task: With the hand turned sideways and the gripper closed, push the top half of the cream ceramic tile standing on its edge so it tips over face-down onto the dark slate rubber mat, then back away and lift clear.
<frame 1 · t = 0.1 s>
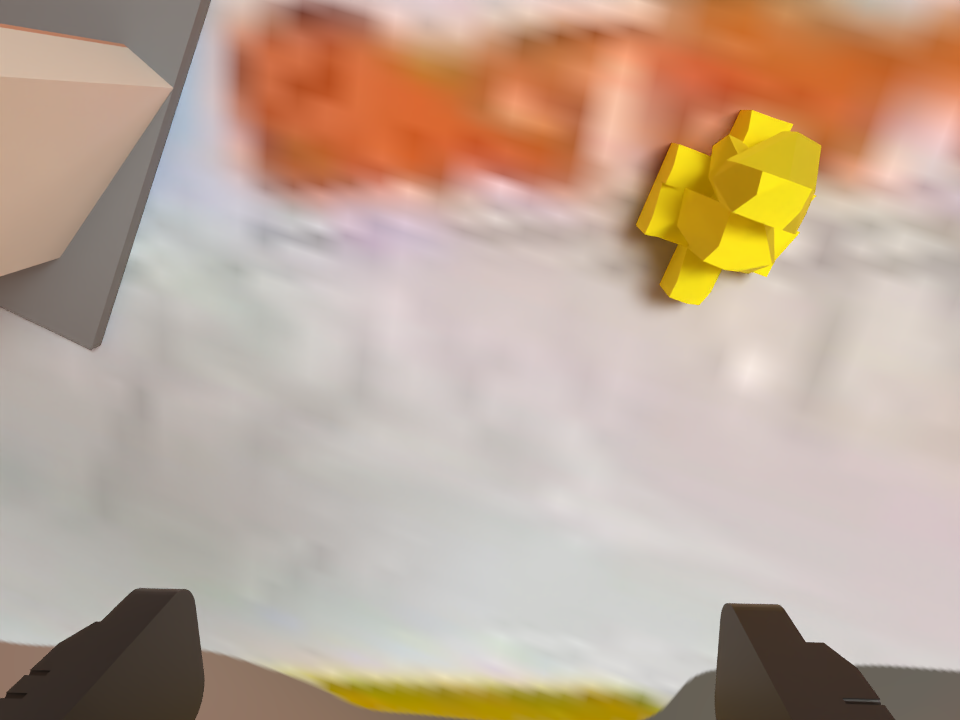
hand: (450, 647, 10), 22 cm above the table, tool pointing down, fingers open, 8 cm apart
tile: (89, 157, 29), point 1 cm above the table, touching mat
crumpled paper: (712, 206, 29), on the table
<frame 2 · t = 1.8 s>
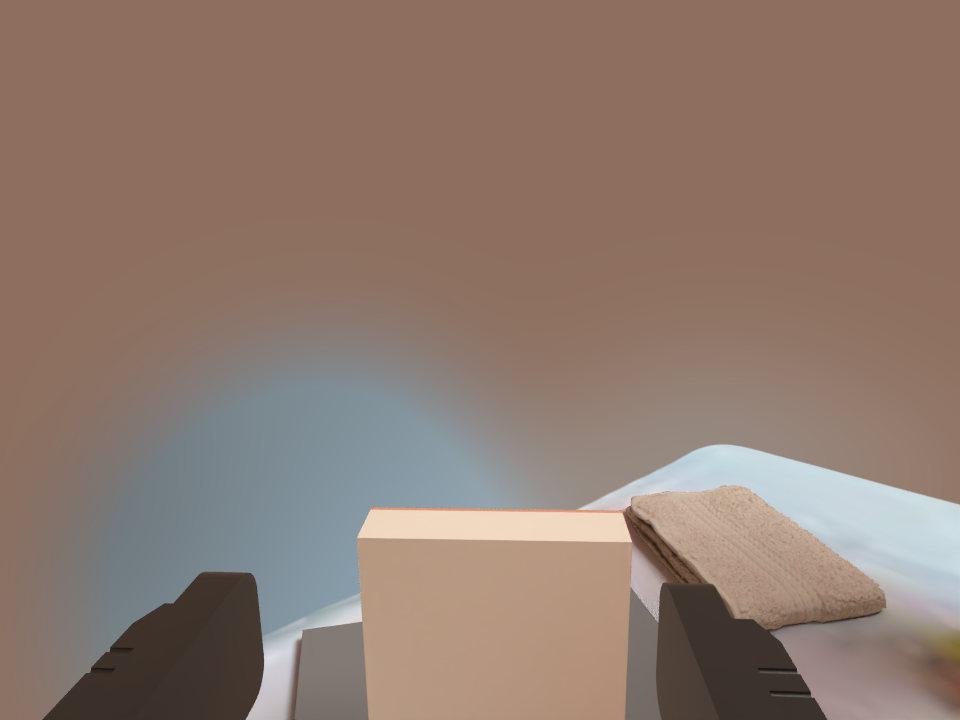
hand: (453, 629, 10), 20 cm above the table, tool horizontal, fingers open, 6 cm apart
mat: (506, 718, 35), on the table
washcloth: (734, 565, 51), on the table
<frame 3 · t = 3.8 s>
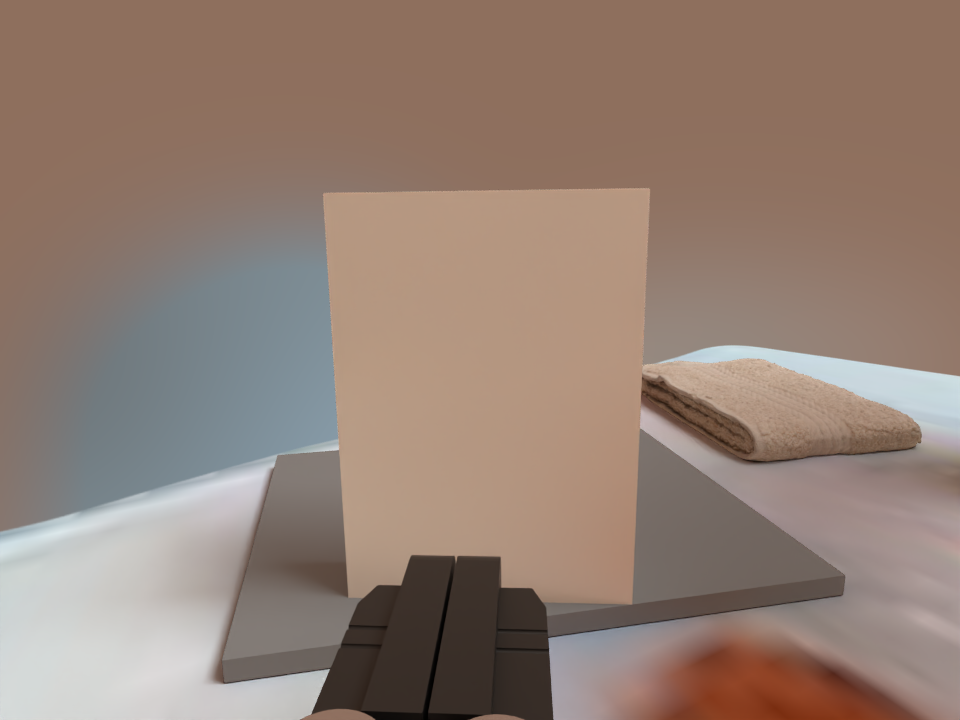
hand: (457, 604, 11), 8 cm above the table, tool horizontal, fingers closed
mat: (501, 518, 31), on the table
tile: (490, 581, 24), point 1 cm above the table, touching mat
washcloth: (752, 422, 47), on the table
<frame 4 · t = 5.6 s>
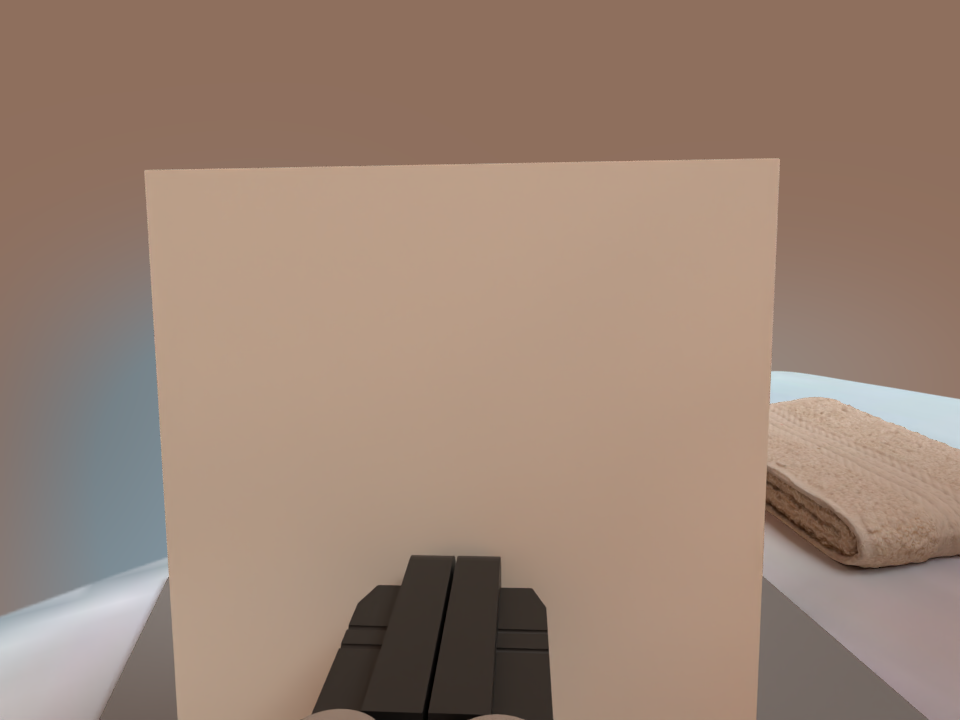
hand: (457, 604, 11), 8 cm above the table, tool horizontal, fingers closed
mat: (493, 695, 20), on the table
washcloth: (831, 490, 36), on the table
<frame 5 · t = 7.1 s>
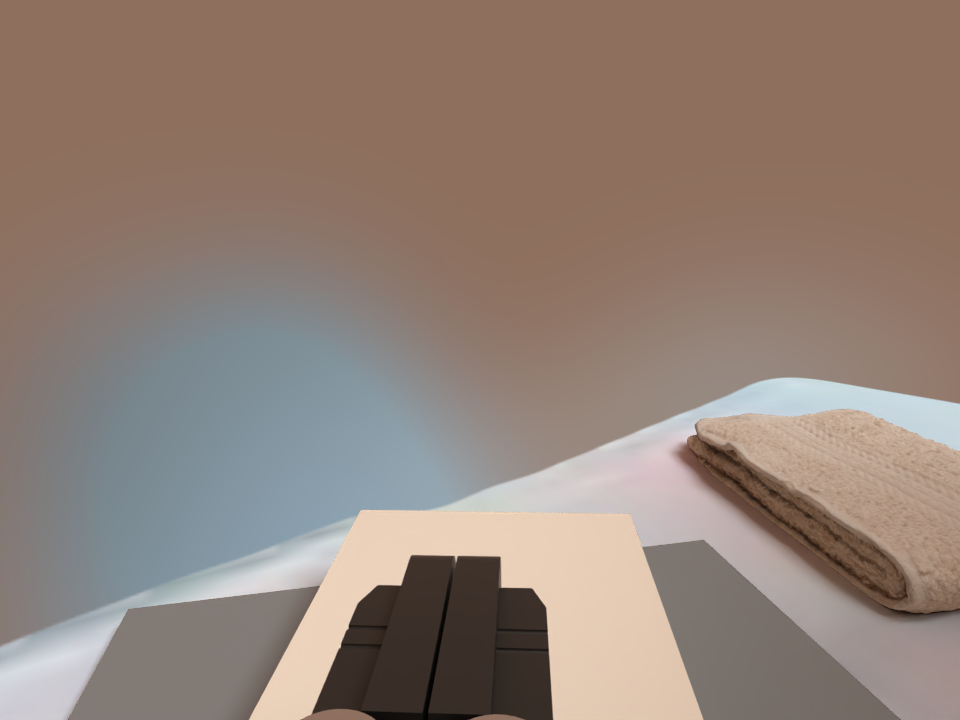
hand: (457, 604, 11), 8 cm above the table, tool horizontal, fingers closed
washcloth: (865, 514, 32), on the table
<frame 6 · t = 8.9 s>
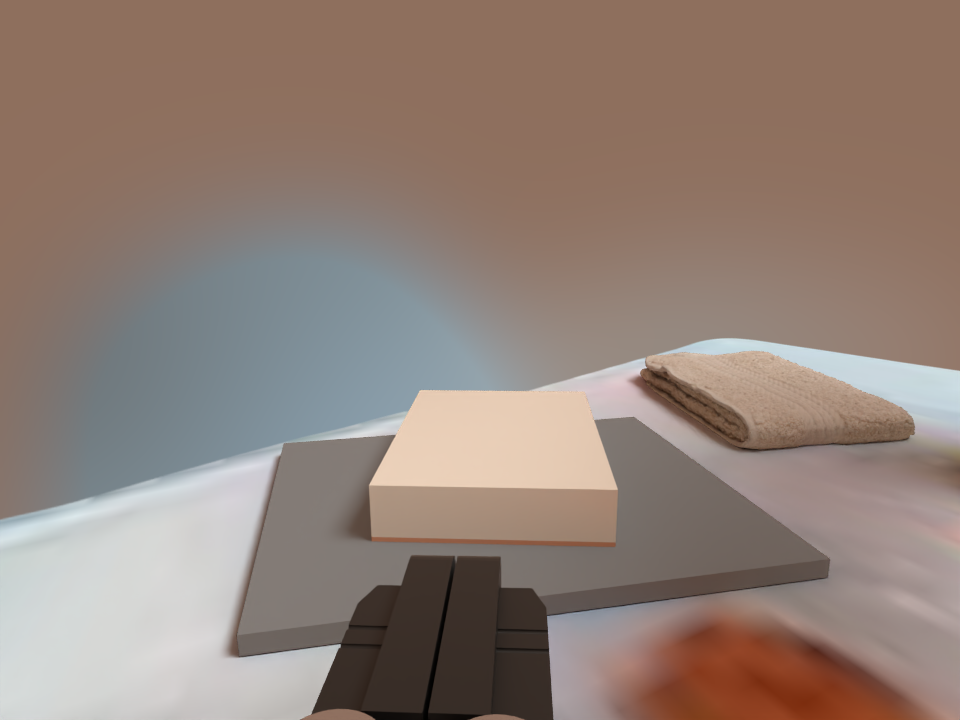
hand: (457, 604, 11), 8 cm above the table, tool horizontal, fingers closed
mat: (501, 504, 32), on the table
tile: (492, 516, 27), point 2 cm above the table, tilted 90°, touching mat
washcloth: (752, 413, 48), on the table
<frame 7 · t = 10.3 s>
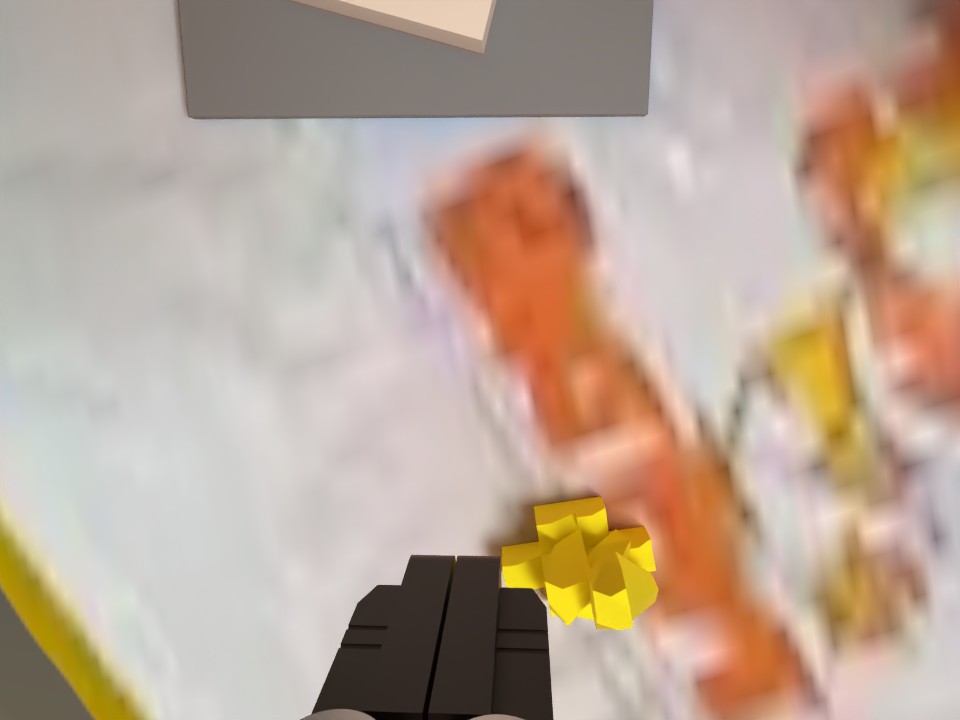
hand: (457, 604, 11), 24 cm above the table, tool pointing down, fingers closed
tile: (374, 17, 29), point 2 cm above the table, tilted 90°, touching mat
crumpled paper: (573, 546, 37), on the table
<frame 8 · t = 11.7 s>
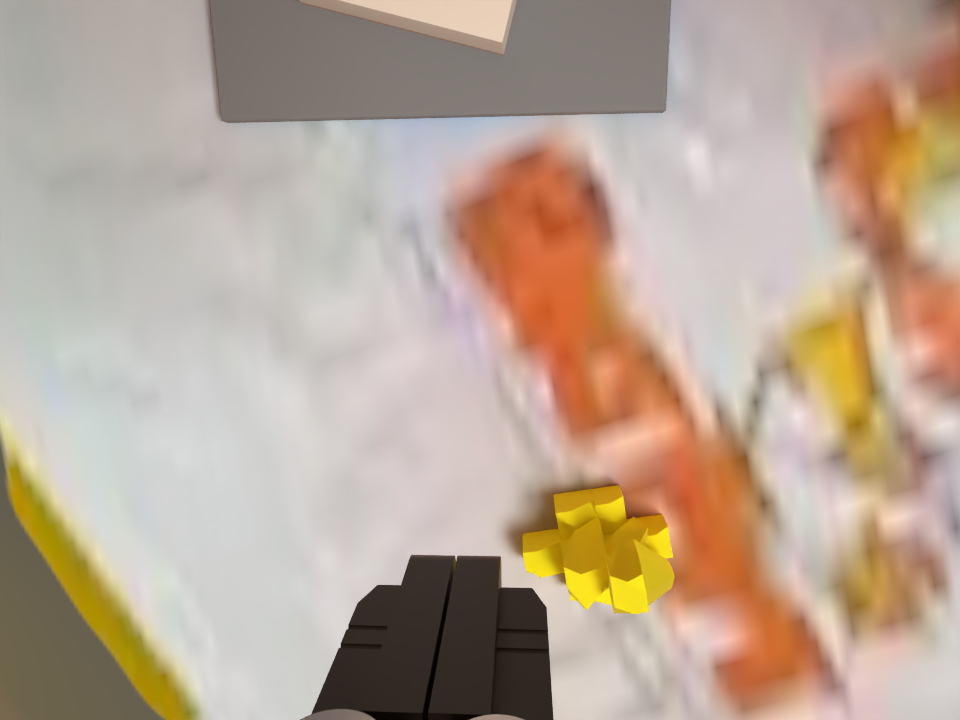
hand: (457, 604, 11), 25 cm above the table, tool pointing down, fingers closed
tile: (398, 22, 30), point 2 cm above the table, tilted 90°, touching mat
crumpled paper: (592, 533, 38), on the table
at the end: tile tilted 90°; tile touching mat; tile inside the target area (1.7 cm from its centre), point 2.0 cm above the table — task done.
